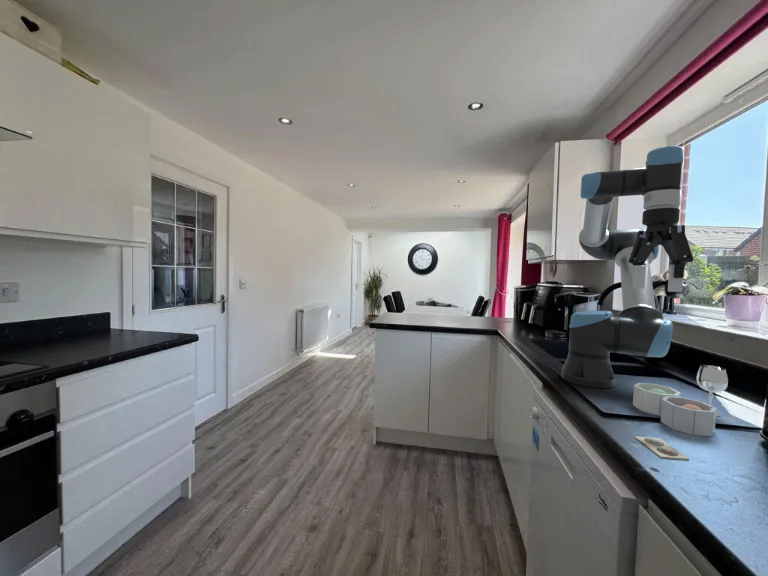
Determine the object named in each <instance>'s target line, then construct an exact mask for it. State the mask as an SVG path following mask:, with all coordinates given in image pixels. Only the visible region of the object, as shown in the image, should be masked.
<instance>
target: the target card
mask: <svg viewBox="0 0 768 576" xmlns="http://www.w3.org/2000/svg"><path fill="white" fill-rule="evenodd" d="M634 439H636V440H637V441H638V442H639V443H641V444H642V445H643V446H645V447H646V448H647V449H649V450H650V451H651V452H653V453H654V454H655V455H656V456H657V457H659V458H660V459H669V460H670V459H672V460H682V461H689V460H690V458H689V457H688V456H686V455H685V454H683V453H682V452H680V451H679V450H677V449H676V448H675V447H673V446H671V444H669V443H668V442H666V441H665V440H663V439H662V438H661V437H649V436H636V435H635V436H634Z"/></svg>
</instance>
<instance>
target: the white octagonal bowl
mask: <svg viewBox="0 0 768 576" xmlns="http://www.w3.org/2000/svg"><path fill="white" fill-rule="evenodd" d="M650 389H660V390H662V391H664V392H665V393H667V394H660V393H656V392H652V391H649V390H650ZM666 396H672V397H681V392H680V391H678V390H677V389H674V388H672V387H669V386H665V385H661V384H656V383H649V382H648V383H647V382H637V383H636V384H634V385H633V398H632V406H634V408H636V409H638V410H639V411H641V412H644V413H647V414H650V415H655V416H659V417H661V409H662V399H663V398H664V397H666Z"/></svg>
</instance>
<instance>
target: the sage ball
mask: <svg viewBox="0 0 768 576" xmlns="http://www.w3.org/2000/svg"><path fill="white" fill-rule="evenodd" d="M649 391H652V392H656V393H660V394H667V393H665V392H664V391H662V390H660V389H650V390H649Z"/></svg>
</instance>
